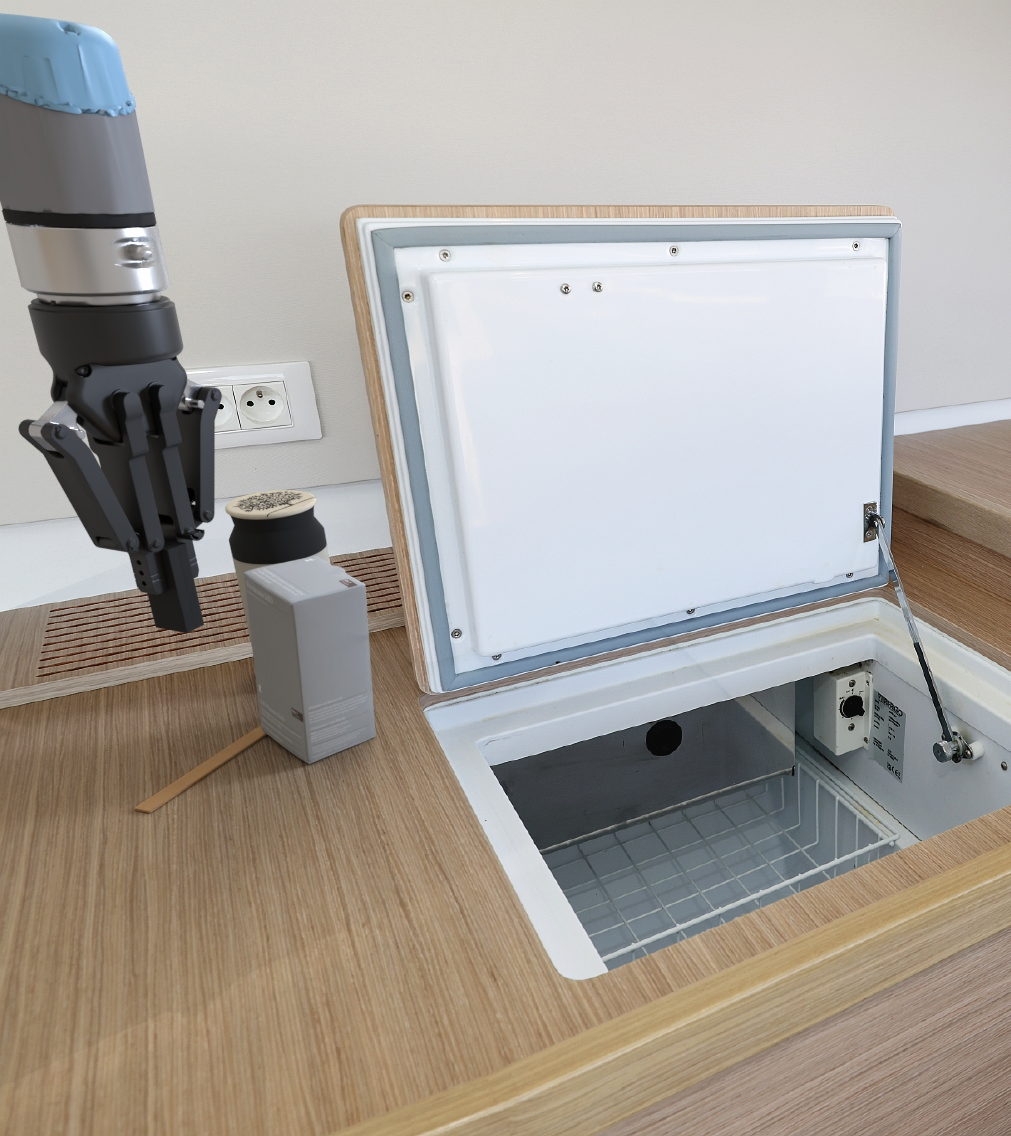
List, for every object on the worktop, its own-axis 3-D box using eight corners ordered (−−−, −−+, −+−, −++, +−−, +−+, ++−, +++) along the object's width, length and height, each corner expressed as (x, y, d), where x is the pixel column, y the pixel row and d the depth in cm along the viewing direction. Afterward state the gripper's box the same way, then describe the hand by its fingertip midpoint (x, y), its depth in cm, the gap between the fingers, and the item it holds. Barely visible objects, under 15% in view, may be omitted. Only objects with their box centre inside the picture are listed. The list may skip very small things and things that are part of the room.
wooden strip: (134, 810, 75) (133, 807, 75) (303, 699, 91) (302, 697, 91) (150, 813, 75) (149, 811, 75) (316, 701, 91) (316, 699, 91)
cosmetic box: (260, 733, 85) (228, 572, 79) (338, 702, 91) (314, 549, 85) (309, 769, 81) (279, 602, 75) (388, 735, 86) (367, 576, 80)
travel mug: (240, 675, 95) (201, 505, 88) (311, 643, 101) (281, 483, 94) (294, 695, 92) (259, 521, 85) (364, 661, 98) (337, 497, 92)
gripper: (48, 313, 54) (143, 676, 63) (234, 290, 65) (291, 598, 75) (-58, 301, 55) (50, 658, 64) (143, 280, 67) (210, 584, 76)
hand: (180, 625), depth 69 cm, fingers closed
